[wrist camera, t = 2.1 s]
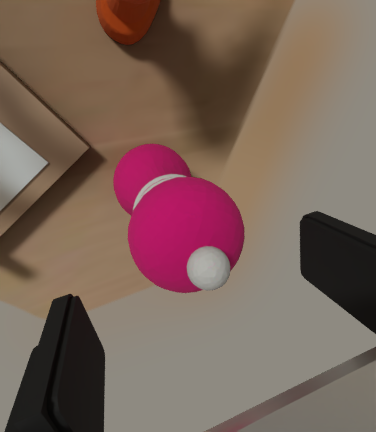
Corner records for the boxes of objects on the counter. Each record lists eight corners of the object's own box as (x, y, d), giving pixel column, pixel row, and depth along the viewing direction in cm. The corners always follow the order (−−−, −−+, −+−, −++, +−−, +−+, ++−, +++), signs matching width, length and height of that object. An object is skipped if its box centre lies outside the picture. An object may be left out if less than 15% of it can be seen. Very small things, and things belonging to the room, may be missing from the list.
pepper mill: (160, 215, 29) (237, 365, 11) (101, 188, 26) (80, 335, 8) (190, 161, 28) (330, 234, 10) (132, 126, 25) (183, 145, 7)
